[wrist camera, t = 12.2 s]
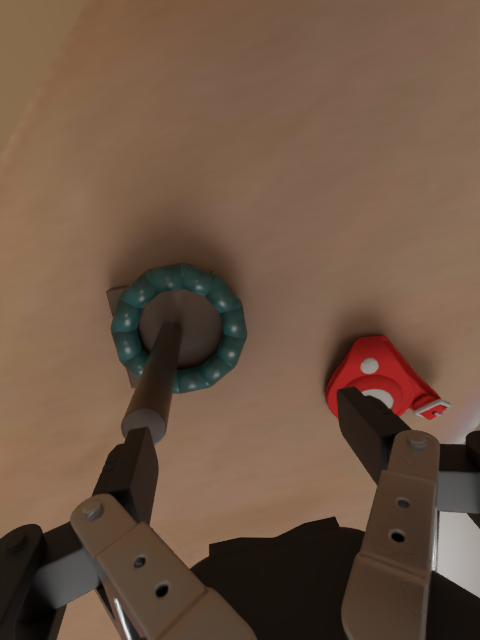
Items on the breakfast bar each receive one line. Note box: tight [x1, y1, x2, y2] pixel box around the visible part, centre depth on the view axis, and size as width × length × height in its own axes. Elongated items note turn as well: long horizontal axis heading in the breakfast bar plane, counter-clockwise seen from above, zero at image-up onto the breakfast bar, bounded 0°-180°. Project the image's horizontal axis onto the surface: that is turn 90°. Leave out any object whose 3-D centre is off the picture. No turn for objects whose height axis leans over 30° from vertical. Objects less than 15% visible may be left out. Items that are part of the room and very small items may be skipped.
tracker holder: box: [325, 335, 452, 420], centre depth 33 cm, size 12×4×10 cm
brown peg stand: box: [106, 271, 223, 445], centre depth 23 cm, size 9×9×16 cm
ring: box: [111, 264, 247, 394], centre depth 29 cm, size 11×11×2 cm
